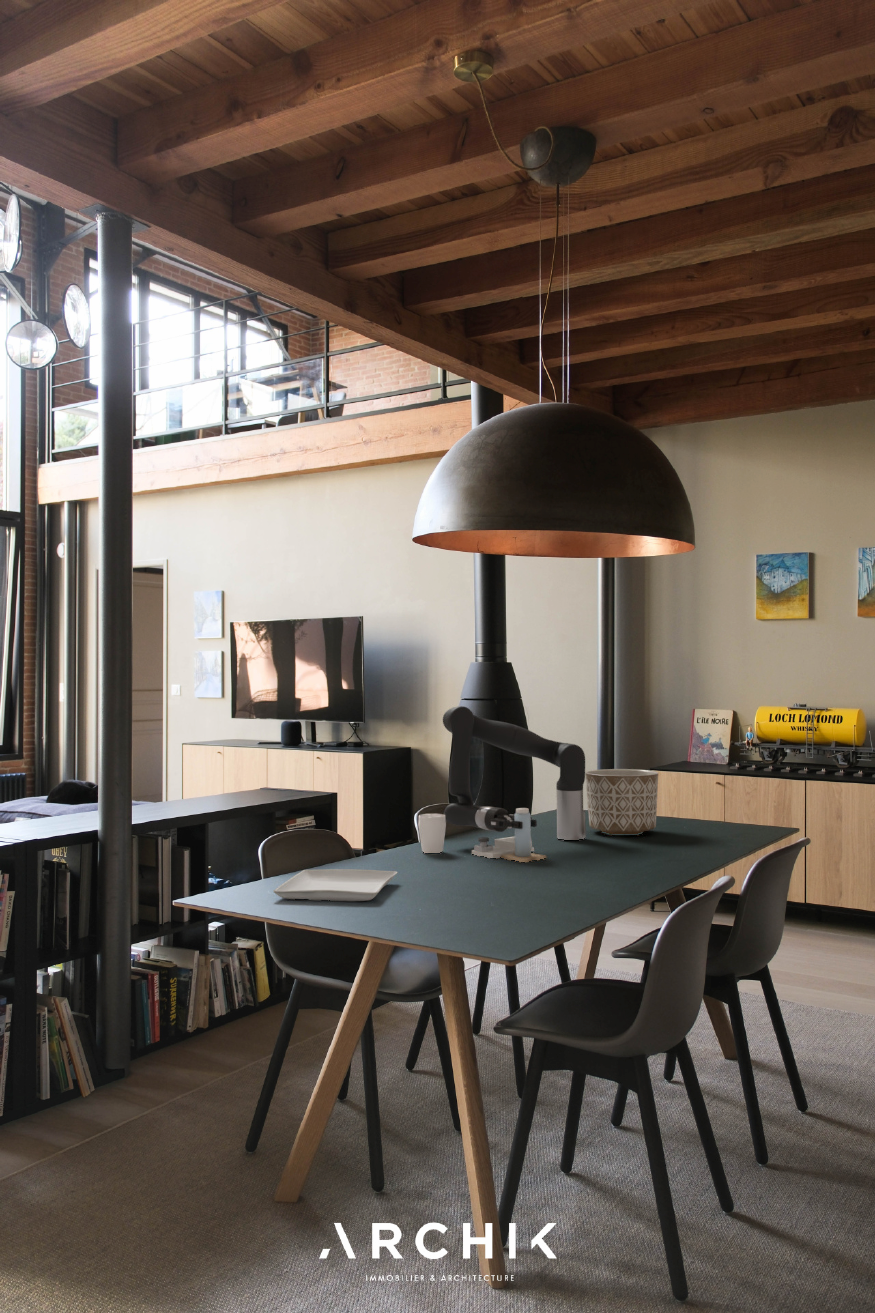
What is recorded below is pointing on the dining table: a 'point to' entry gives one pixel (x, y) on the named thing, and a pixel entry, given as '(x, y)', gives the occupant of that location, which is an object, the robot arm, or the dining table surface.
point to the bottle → (523, 833)
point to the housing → (497, 848)
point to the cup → (432, 832)
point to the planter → (622, 800)
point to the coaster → (523, 859)
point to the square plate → (335, 884)
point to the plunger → (483, 841)
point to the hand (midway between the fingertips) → (528, 824)
